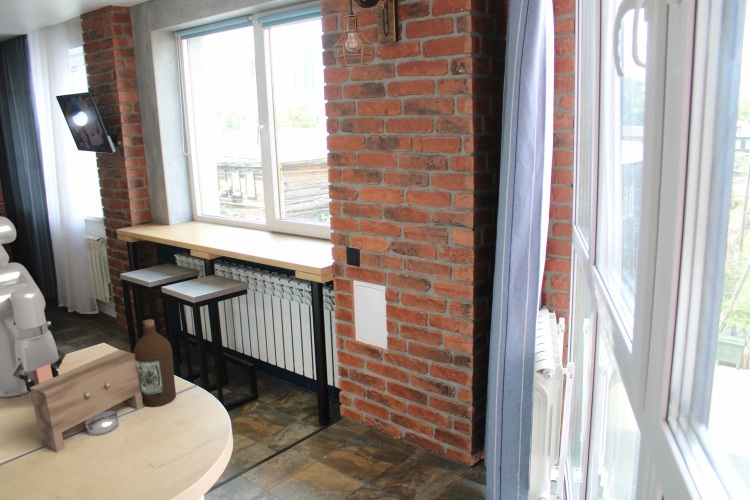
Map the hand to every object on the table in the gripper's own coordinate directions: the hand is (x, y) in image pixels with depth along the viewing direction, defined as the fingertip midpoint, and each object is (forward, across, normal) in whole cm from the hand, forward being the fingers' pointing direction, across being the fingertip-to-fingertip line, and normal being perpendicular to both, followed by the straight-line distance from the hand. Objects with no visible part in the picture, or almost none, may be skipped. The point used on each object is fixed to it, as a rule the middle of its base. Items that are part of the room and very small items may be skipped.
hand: (43, 386), depth 170 cm
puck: (+6, 0, +27) cm, 28 cm away
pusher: (+6, 0, +8) cm, 10 cm away
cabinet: (+6, 0, +24) cm, 24 cm away
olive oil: (+6, -18, +28) cm, 34 cm away
